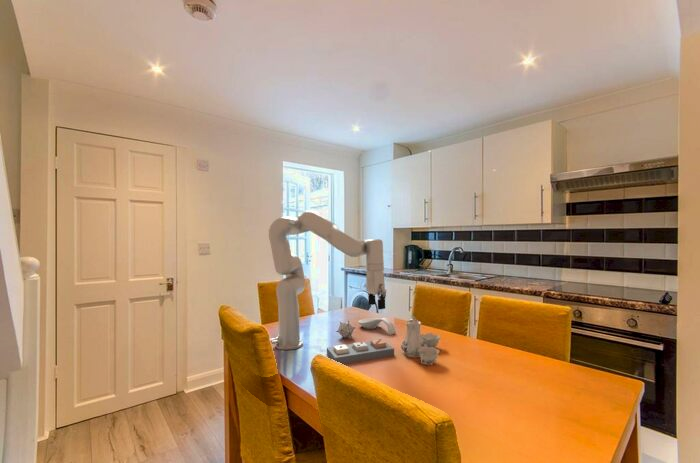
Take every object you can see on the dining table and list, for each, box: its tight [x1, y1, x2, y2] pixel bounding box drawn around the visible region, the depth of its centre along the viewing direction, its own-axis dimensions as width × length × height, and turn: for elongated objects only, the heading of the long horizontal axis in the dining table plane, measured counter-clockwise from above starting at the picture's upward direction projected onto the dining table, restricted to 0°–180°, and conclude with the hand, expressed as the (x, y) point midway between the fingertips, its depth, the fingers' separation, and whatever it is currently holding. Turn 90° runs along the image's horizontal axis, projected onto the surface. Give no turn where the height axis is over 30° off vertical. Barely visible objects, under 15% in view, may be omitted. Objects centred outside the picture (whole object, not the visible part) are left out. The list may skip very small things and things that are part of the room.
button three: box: [370, 338, 387, 348], centre depth 140 cm, size 5×5×3 cm
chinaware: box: [400, 315, 441, 366], centre depth 137 cm, size 28×17×17 cm, turn 169°
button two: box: [352, 341, 368, 351], centre depth 137 cm, size 5×5×3 cm
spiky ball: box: [335, 320, 356, 340], centre depth 160 cm, size 9×8×10 cm
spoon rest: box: [357, 317, 396, 336], centre depth 173 cm, size 24×12×7 cm, turn 40°
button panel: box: [326, 340, 395, 365], centre depth 137 cm, size 26×12×3 cm, turn 110°
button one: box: [333, 343, 349, 354], centre depth 134 cm, size 5×5×3 cm
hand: (376, 306), depth 141 cm, fingers open, 9 cm apart
